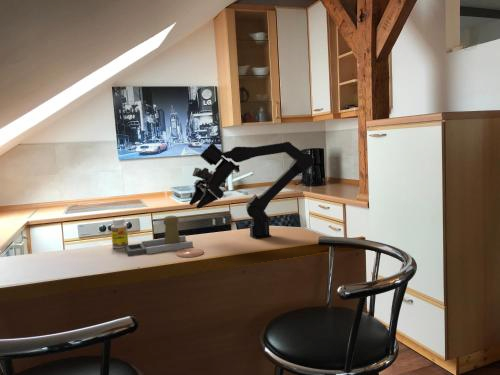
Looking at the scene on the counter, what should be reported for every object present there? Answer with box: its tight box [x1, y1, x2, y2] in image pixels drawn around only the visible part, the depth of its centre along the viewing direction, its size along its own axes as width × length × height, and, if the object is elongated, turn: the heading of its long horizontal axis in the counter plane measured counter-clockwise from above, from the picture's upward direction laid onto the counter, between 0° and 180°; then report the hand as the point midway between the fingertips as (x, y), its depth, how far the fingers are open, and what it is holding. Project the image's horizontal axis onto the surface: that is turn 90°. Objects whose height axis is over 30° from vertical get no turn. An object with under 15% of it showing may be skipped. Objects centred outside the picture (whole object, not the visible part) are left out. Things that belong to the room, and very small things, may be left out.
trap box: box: [124, 242, 147, 257], centre depth 144 cm, size 6×9×2 cm, turn 23°
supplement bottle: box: [110, 217, 129, 249], centre depth 151 cm, size 6×6×10 cm
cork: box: [163, 215, 181, 245], centre depth 149 cm, size 6×6×11 cm
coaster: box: [176, 247, 205, 258], centre depth 139 cm, size 9×9×1 cm
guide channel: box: [141, 234, 194, 255], centre depth 149 cm, size 16×11×2 cm
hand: (193, 206), depth 151 cm, fingers open, 9 cm apart
